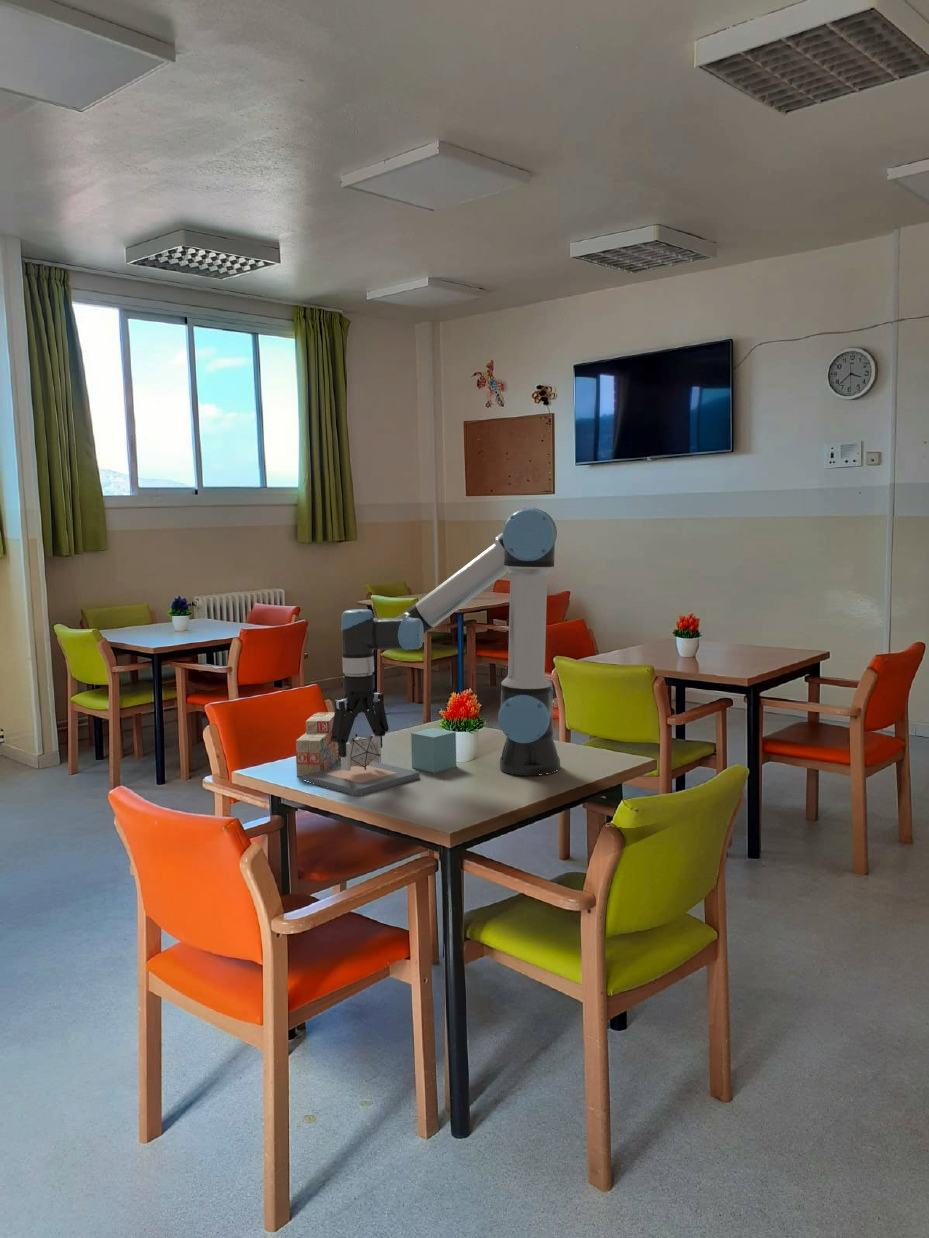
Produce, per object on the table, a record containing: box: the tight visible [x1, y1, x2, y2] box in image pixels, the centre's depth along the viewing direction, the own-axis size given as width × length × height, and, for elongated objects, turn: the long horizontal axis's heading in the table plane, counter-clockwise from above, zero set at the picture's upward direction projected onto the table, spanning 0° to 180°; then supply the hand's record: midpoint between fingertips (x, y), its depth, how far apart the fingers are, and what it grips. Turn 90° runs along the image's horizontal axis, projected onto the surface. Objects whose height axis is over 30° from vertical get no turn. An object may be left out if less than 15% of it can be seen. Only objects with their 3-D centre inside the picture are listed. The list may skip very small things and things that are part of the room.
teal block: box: [410, 727, 457, 774], centre depth 244 cm, size 8×8×9 cm
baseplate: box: [302, 761, 421, 797], centre depth 233 cm, size 20×20×2 cm
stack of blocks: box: [295, 711, 341, 777], centre depth 247 cm, size 21×6×12 cm, turn 173°
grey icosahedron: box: [349, 733, 382, 770], centre depth 233 cm, size 9×8×10 cm
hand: (361, 765), depth 233 cm, fingers closed on grey icosahedron, 9 cm apart
